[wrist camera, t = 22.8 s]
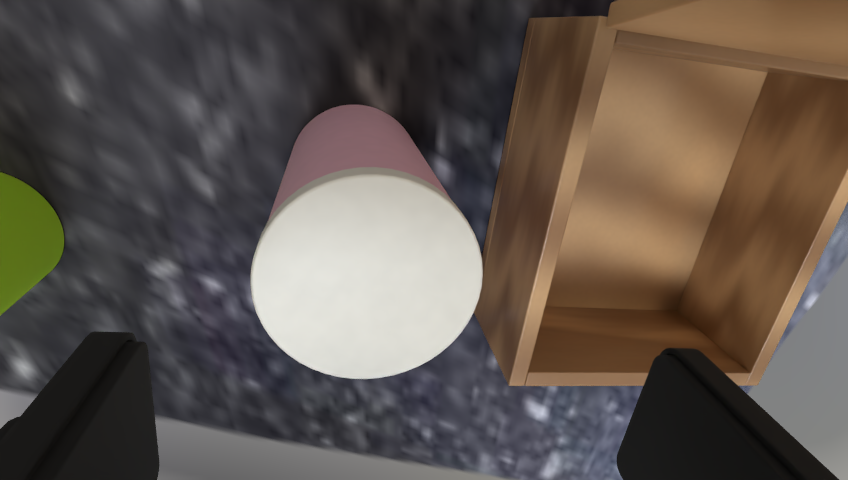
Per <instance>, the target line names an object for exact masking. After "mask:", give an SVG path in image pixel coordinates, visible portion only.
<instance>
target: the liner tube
mask: <svg viewBox="0 0 848 480" xmlns="http://www.w3.org/2000/svg"><path fill="white" fill-rule="evenodd" d="M482 277H483V266H482V257H481V252H480V247H479V244H478V242H477V239H476V236H475V234H474V232H473V230H472V228H471V227H470V225H469V223H468V221H467V220H466V218H465V217H464V215H463V214H462V213H461V211H460V210H459V209H458V207H457V206H456V205H455V203H454V202H453V201H452V200H451V199H450V197H449V196H448V194H447V193H446V191H445V189H444V188H443V186H442V185H441V183H440V182H439V180H438V179H437V177H436V176H435V174H434V173H433V171H432V170H431V168H430V166H429V165H428V163H427V162H426V160H425V159H424V157H423V156H422V154H421V153H420V151H419V150H418V148H417V146H416V145H415V143H414V142H413V140H412V139H411V137H410V136H409V134H408V133H407V131H406V130H405V129H404V127H403V126H402V125H401V124H400V123H399V122H398V121H397V120H395V119H394V118H393V117H391V116H390V115H388V114H387V113H385V112H383V111H381V110H379V109H376V108H373V107H369V106H365V105H342V106H338V107H334V108H331V109H329V110H326V111H324V112H322V113H321V114H319V115H317V116H316V117H315V118H313V119H312V120H311V121H310V122H309V123H308V124H307V125H306V126H305V127H304V128H303V130H302V131H301V133H300V134H299V136H298V138H297V140H296V142H295V144H294V147H293V150H292V153H291V156H290V159H289V162H288V165H287V167H286V170H285V173H284V176H283V179H282V182H281V185H280V188H279V191H278V194H277V196H276V199H275V202H274V205H273V208H272V211H271V214H270V217H269V220H268V222H267V224H266V226H265V228H264V230H263V232H262V234H261V237H260V239H259V242H258V245H257V248H256V251H255V254H254V257H253V262H252V268H251V293H252V300H253V303H254V306H255V310H256V313H257V315H258V317H259V319H260V321H261V323H262V325H263V327H264V328H265V330H266V331H267V333H268V334H269V336H270V337H271V338H272V339H273V341H274V342H275V343H276V344H277V345H278V346H279V347H280V348H281V349H282V350H283V351H284V352H286V353H287V354H288V355H289V356H291V357H292V358H294V359H295V360H297V361H298V362H300V363H301V364H303V365H305V366H307V367H309V368H311V369H314V370H316V371H319V372H322V373H325V374H329V375H333V376H337V377H343V378H351V379H371V378H381V377H386V376H392V375H396V374H399V373H402V372H406V371H408V370H411V369H413V368H415V367H418V366H420V365H422V364H424V363H425V362H427V361H429V360H431V359H432V358H434V357H435V356H437V355H438V354H439V353H441V352H442V351H443V350H444V349H446V348H447V347H448V346H449V345H450V344H451V343H452V342H453V341H454V340H455V339H456V338H457V337H458V336H459V334H460V333H461V332H462V331H463V329H464V328H465V326H466V325H467V323H468V322H469V320H470V318H471V316H472V314H473V312H474V310H475V308H476V305H477V302H478V300H479V296H480V291H481V287H482Z"/></svg>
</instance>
